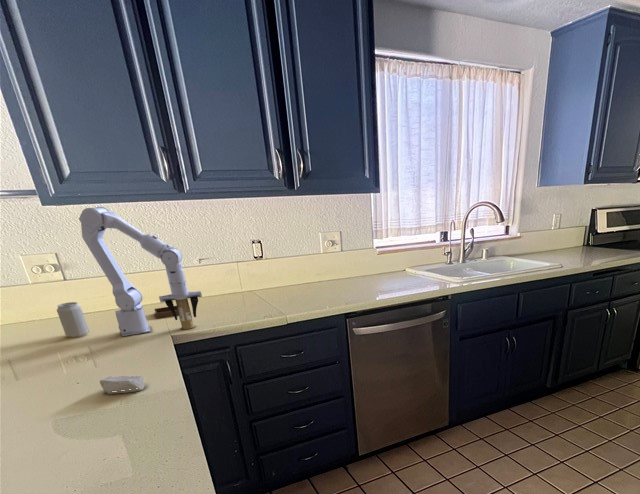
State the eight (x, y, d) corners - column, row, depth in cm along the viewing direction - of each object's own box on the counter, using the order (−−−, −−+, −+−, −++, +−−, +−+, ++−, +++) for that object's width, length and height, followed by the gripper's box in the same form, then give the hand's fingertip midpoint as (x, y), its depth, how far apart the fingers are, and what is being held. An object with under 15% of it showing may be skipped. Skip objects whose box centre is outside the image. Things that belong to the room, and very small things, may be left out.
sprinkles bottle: (195, 328, 165) (187, 293, 159) (182, 330, 163) (174, 295, 157) (192, 325, 168) (185, 291, 163) (180, 327, 166) (172, 293, 160)
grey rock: (146, 397, 119) (149, 377, 118) (135, 402, 113) (139, 380, 112) (108, 388, 118) (112, 368, 117) (95, 392, 111) (99, 371, 111)
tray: (157, 318, 178) (155, 313, 177) (155, 313, 186) (154, 308, 185) (185, 314, 183) (184, 309, 182) (183, 309, 190) (182, 304, 190)
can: (87, 330, 165) (76, 300, 160) (92, 334, 160) (81, 303, 155) (64, 335, 161) (53, 304, 155) (68, 339, 156) (57, 307, 151)
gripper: (196, 278, 164) (204, 312, 170) (155, 283, 158) (164, 318, 164) (199, 281, 159) (206, 316, 165) (156, 286, 152) (165, 323, 158)
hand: (185, 318), depth 164 cm, fingers open, 6 cm apart
